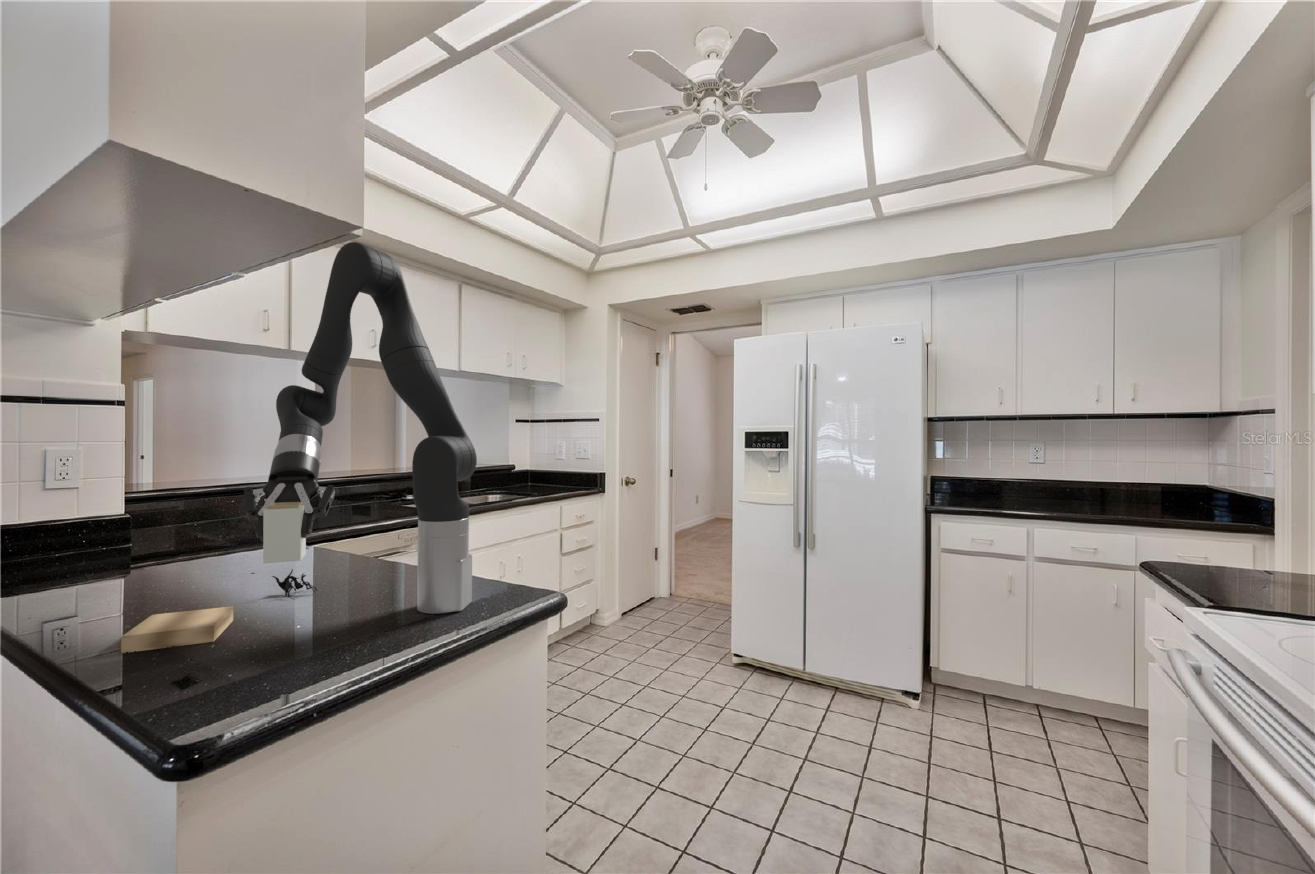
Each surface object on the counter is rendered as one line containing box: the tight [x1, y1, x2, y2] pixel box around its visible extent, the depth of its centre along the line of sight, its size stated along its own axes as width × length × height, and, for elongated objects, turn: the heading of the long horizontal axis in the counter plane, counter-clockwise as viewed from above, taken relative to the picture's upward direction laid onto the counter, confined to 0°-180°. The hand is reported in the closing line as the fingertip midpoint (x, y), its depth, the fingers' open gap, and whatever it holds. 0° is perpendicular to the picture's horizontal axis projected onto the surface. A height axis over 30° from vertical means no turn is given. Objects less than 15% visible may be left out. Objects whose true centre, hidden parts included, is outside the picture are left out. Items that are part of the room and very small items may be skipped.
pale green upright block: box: [262, 502, 307, 564], centre depth 91 cm, size 5×5×10 cm
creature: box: [271, 569, 319, 600], centre depth 110 cm, size 8×5×8 cm
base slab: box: [120, 605, 234, 654], centre depth 87 cm, size 11×11×3 cm
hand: (283, 536), depth 89 cm, fingers closed on pale green upright block, 5 cm apart
